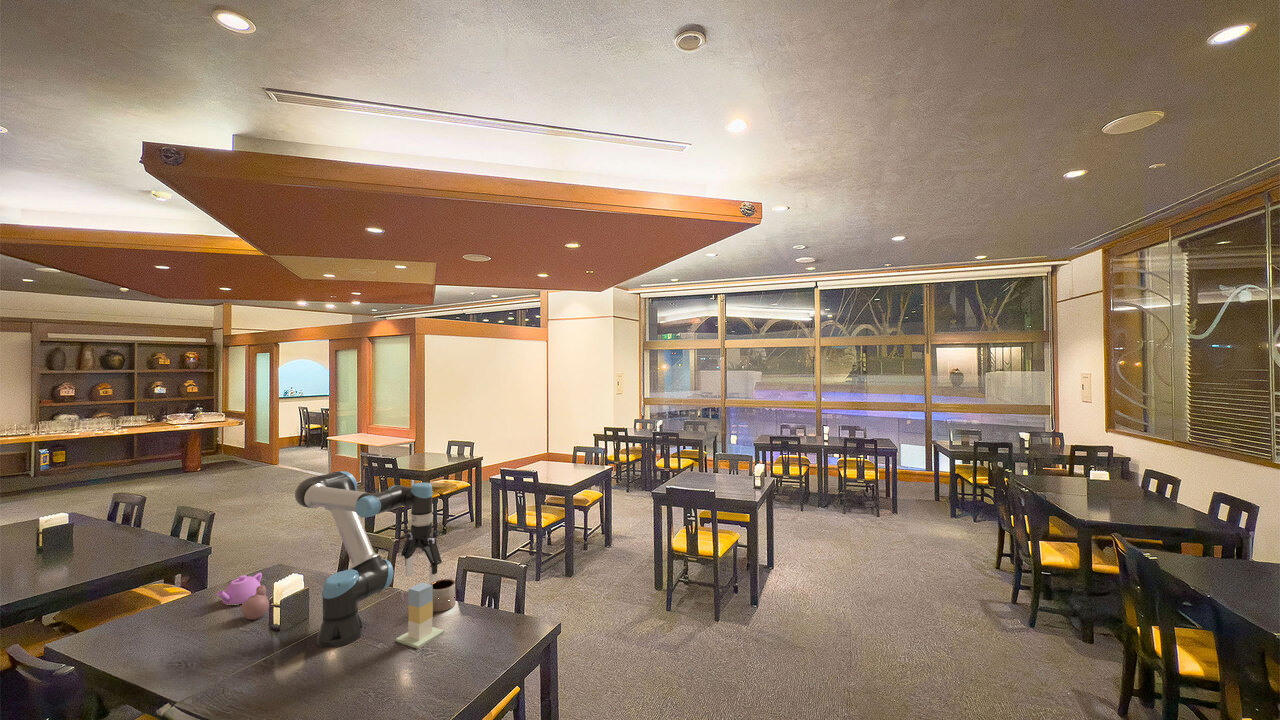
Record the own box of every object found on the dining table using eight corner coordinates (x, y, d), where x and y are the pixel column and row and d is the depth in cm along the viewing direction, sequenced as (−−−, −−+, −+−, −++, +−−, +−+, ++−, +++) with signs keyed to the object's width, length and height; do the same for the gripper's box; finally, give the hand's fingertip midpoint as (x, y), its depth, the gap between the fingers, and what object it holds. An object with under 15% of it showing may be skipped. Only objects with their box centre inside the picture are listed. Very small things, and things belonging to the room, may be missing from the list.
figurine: (254, 611, 208) (254, 582, 208) (274, 614, 205) (274, 585, 205) (232, 621, 199) (232, 592, 199) (253, 624, 196) (253, 594, 197)
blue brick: (408, 604, 185) (408, 588, 185) (421, 597, 190) (421, 582, 190) (419, 607, 182) (419, 591, 182) (432, 600, 188) (432, 585, 188)
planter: (449, 612, 205) (449, 589, 205) (423, 613, 205) (423, 590, 205) (459, 600, 215) (459, 578, 216) (434, 600, 216) (434, 578, 216)
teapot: (204, 610, 209) (204, 585, 209) (248, 589, 229) (248, 567, 229) (232, 612, 207) (232, 587, 207) (274, 591, 226) (274, 568, 227)
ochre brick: (408, 620, 185) (408, 604, 185) (421, 613, 190) (421, 597, 190) (419, 624, 182) (419, 607, 182) (432, 616, 187) (432, 600, 188)
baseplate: (395, 641, 183) (395, 622, 183) (422, 626, 194) (422, 608, 194) (418, 649, 178) (418, 629, 178) (444, 632, 189) (444, 614, 189)
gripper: (392, 521, 193) (391, 575, 192) (435, 531, 181) (434, 589, 181) (408, 516, 199) (408, 568, 199) (451, 525, 188) (451, 581, 188)
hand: (420, 578), depth 190 cm, fingers open, 13 cm apart
